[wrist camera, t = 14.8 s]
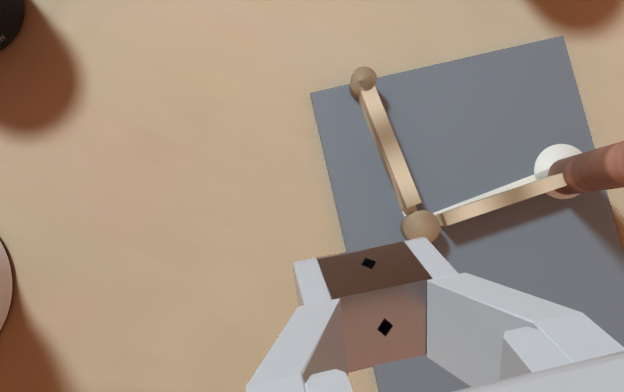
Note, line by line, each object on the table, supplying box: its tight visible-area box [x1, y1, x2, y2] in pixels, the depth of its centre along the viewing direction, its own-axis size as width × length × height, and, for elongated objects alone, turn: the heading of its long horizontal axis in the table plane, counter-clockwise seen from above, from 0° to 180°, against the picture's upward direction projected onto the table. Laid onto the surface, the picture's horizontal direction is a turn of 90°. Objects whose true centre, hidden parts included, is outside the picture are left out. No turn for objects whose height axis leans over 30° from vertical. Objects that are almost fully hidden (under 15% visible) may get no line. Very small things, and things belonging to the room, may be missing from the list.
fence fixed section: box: [349, 67, 440, 243], centre depth 36 cm, size 15×3×2 cm, turn 21°
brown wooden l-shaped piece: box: [436, 141, 624, 226], centre depth 29 cm, size 13×4×16 cm, turn 109°
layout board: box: [310, 36, 624, 392], centre depth 37 cm, size 22×29×1 cm
